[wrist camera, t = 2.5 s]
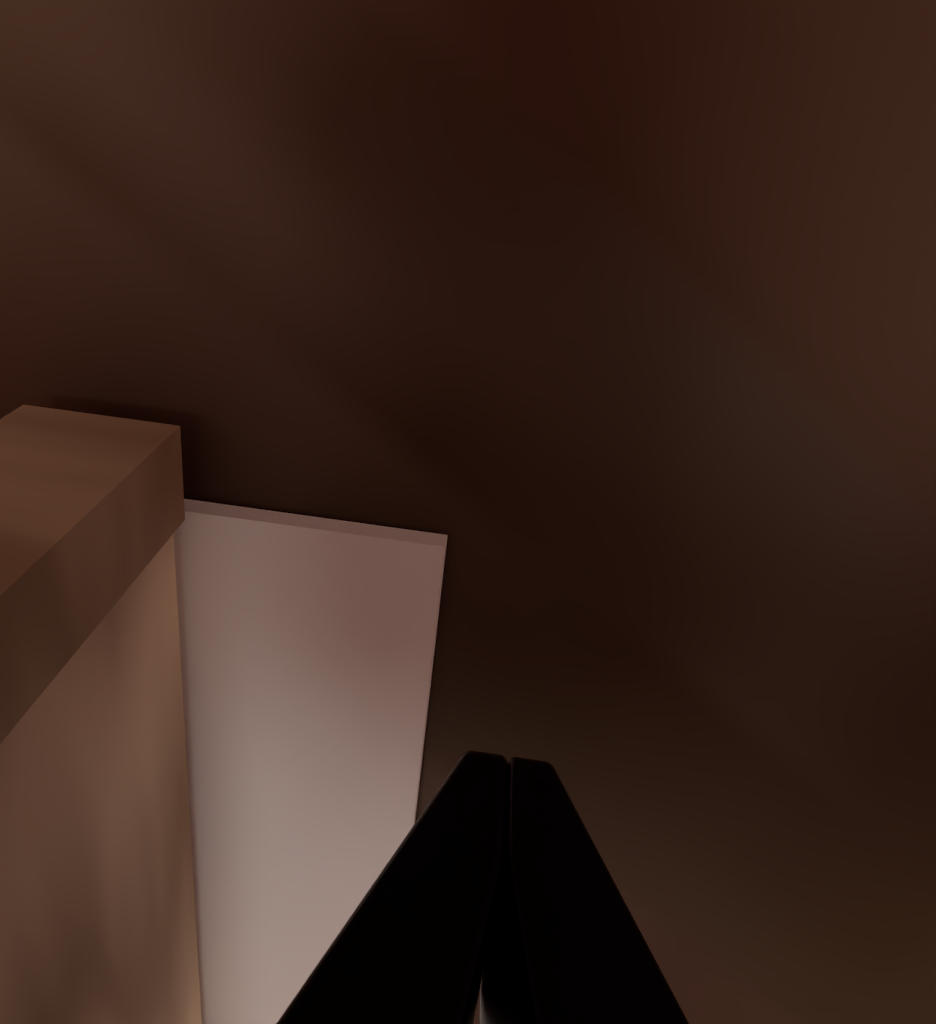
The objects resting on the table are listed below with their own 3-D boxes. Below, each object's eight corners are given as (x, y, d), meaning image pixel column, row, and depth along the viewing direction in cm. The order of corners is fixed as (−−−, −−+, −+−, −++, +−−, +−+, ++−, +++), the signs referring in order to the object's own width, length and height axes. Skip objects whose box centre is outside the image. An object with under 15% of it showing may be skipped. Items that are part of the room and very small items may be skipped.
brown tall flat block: (212, 1086, 16) (60, 1548, 11) (116, 1070, 16) (-81, 1525, 11) (180, 425, 10) (-207, 790, 5) (23, 403, 10) (-521, 743, 5)
